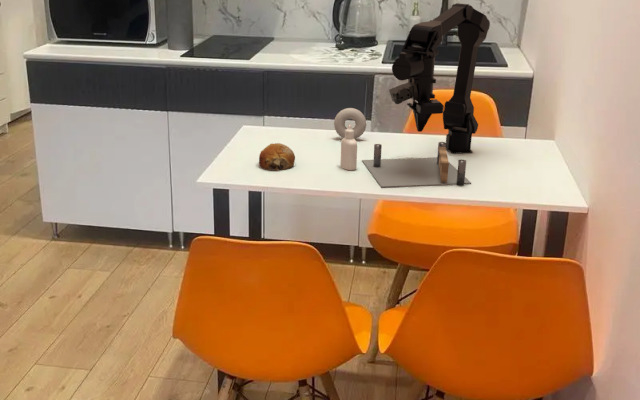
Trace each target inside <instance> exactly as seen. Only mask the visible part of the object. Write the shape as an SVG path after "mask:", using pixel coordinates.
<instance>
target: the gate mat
mask: <svg viewBox="0 0 640 400" xmlns="http://www.w3.org/2000/svg"><path fill="white" fill-rule="evenodd" d="M361 162H362V163H363V165H364V166H365V168H366V169H367V170H368V171H369V173H370V174H371V176H372V177H373V179H374V180H375V181H376V183H377V184H378V185H379V187H380V188H381V189H385V188H386V189H387V188H388V189H389V188H409V187H410V188H411V187H413V188H415V187H436V186H438V187H439V186H458V185H457V183H456V182H457V171H458V168H456V167H455V166H454V165H453V164H452V163H451V162H450V161H449V166H448V178H447V182H443V181H441V174H440V168H439V165H438V164H437V156H434V157H415V158H414V157H411V158H409V157H407V158H381V167H373V162H374V159H362V160H361ZM464 185H472V182H471V181H470V180H469V179H468V178H467V177H466V176H465V181H464Z"/></svg>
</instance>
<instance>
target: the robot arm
mask: <svg viewBox="0 0 640 400" xmlns="http://www.w3.org/2000/svg"><path fill="white" fill-rule="evenodd" d="M490 23H491V22H490V20H489V18H488V17H487V15H485V14H484V13H482V12H481V11H480V10H477V9H476V8H474V7H473V6H472V5H470V4H469V3H453V4H452V5H451V7H449V9H447V10H446V11H444V12H442V13H441V14H439V15H438V16H437V17H435V18H433V19H432V20H429V21H421V22H419V23H416V24H414V25H413V26H412V27H411V29H410V30H409V32H408V35H407V36H406V39H405V42H404V44H403V47H402V48H401V52H400V53H399V54H398V56H399V57H397V58H396V59H395V60H394V61H393V63H392V65H391V71H392V74H393V76H394V78H395V79H397V80H398V81H407V82H405V83H401V84H399V85H398V86H395V87H392V88H390V89H389V90H388V91H389V95H390V97H391V100H392V102H394V104H395V105H400V104H402V103H404V102H405V101H407V100H409V102H408V103H406V105H407V106H408V107H409V108H410V109H411V110H412V113H413V116H414V122H415V127H416V131H417V132H418V133H419V132H421V133H422V132H423V130H424V128H425V126H426V124H427V123H428V121H429V119H430V118H431V116H432V115H437V114H442V122H443V123H442V124H443V129H444V130H448V132H447V133H448V134H446V136H445V143H446V151H448V152H449V153H451V154H472V153H473V150H472V149H471V146H472V139H473V138H472V137H473V135H472V134H476V132H477V131H478V129H479V123H478V121H477V120H476V119H477V118H476V117H475V116H474V114H475V113H474V112H475V107H474V104H473V102H472V99H471V94H472V89H473V82H474V77H475V69H476V65H477V64H476V63H477V58H478V52H479V47H480V46H481V45H482V44H483V42H484V41H485V40H486V38H487V36H488V32H489V30H490V26H491V24H490ZM454 28H457V32H456V33H457V38H458V40H459V43H460V51H459V58H458V63H457V68H456V69H457V70H456V76H455V83H454V87H453V94H452V97H450V98H449V100H448V101H447V100H446V101H445V102H444V104H443V103H442V102H440V101H439V100H438V99H436V94H435V93H433V92H434V84H436V83H437V79H436V78H435V77H434V76H435V75H434V74H435V63H436V62H435V58H436V56H438V55H439V50H437V47H438V46H439V45H440V44H441V43H442V42H443V39H444V38H443V36H444V35H446V34H447V33H448V32H450V31H451V30H453V29H454Z"/></svg>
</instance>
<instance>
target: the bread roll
mask: <svg viewBox="0 0 640 400" xmlns="http://www.w3.org/2000/svg"><path fill="white" fill-rule="evenodd" d="M258 160H259V161H258V164H259V166H260V168H262V169H264V170H267V171H268V170H269V171H283V170H288V169H291V168H292V167H293V166H295V161H296V156H295V153H294V151H293V150H292V149H291V148H290V147H289V146H287V145H285V144H283V143H280V142H278V143H270V144H269V145H267V146H266V147H264V149H262V150H261V151H260V153H259V158H258Z"/></svg>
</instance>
